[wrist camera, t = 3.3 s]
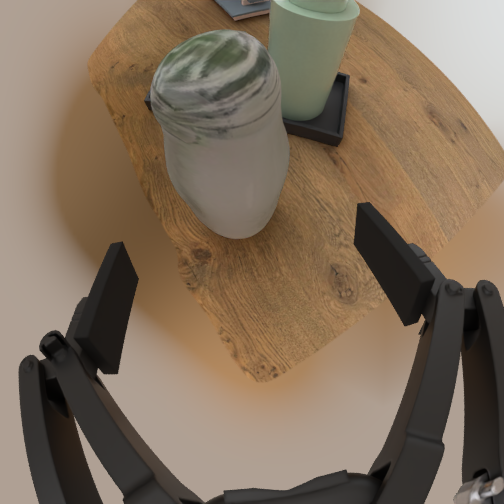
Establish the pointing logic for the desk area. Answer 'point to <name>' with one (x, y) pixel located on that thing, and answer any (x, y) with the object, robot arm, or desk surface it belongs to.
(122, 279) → the robot arm
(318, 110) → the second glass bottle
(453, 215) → the desk surface
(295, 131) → the tray
